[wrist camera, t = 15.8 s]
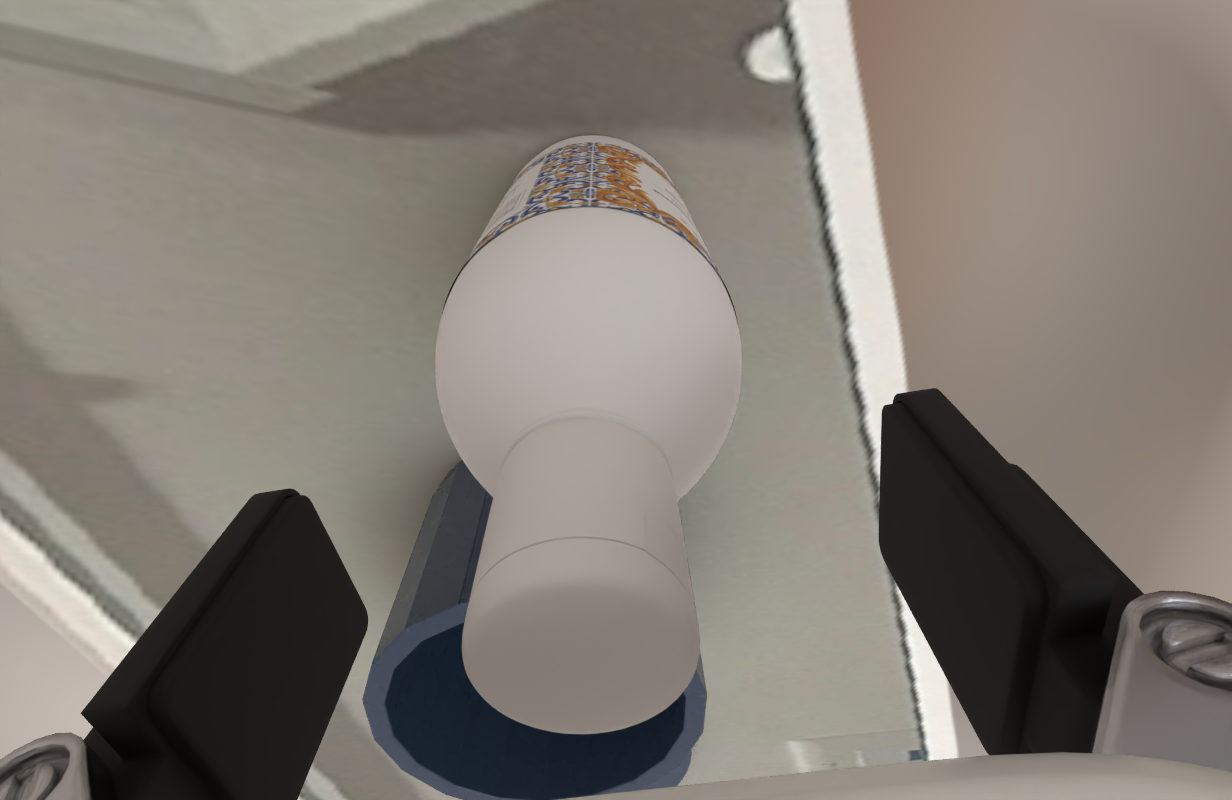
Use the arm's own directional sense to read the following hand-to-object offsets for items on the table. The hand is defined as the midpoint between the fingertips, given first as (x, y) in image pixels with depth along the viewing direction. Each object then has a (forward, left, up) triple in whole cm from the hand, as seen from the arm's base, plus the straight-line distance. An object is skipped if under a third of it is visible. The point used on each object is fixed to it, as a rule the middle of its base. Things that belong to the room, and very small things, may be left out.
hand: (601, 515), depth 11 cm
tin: (+15, -5, -17) cm, 23 cm away
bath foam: (0, 0, -17) cm, 17 cm away
